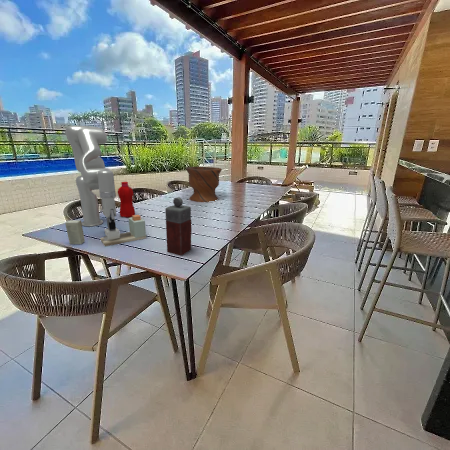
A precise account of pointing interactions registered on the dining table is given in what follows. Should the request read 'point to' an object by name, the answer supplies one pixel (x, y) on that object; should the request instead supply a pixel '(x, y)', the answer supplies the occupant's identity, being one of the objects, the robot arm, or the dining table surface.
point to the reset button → (136, 217)
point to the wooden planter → (203, 183)
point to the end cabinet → (137, 227)
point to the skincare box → (75, 231)
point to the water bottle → (126, 200)
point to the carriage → (112, 232)
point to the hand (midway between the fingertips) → (111, 227)
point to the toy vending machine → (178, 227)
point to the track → (120, 239)
